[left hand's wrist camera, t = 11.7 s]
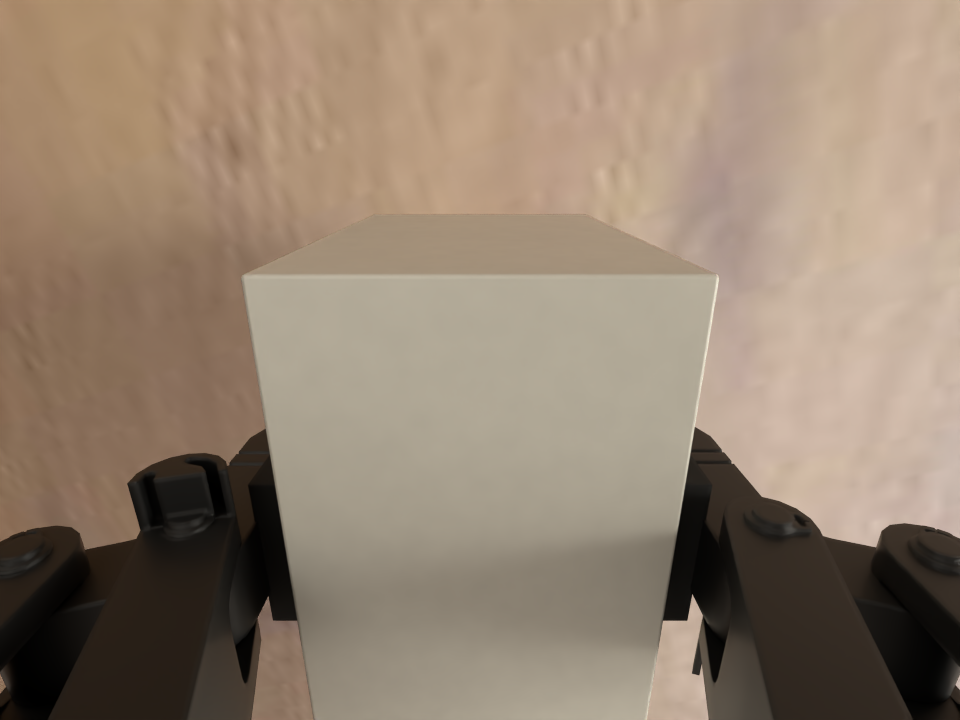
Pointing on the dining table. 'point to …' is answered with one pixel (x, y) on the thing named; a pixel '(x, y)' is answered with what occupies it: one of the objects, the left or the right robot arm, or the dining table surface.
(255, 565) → the left robot arm
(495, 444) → the bar
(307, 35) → the dining table surface
